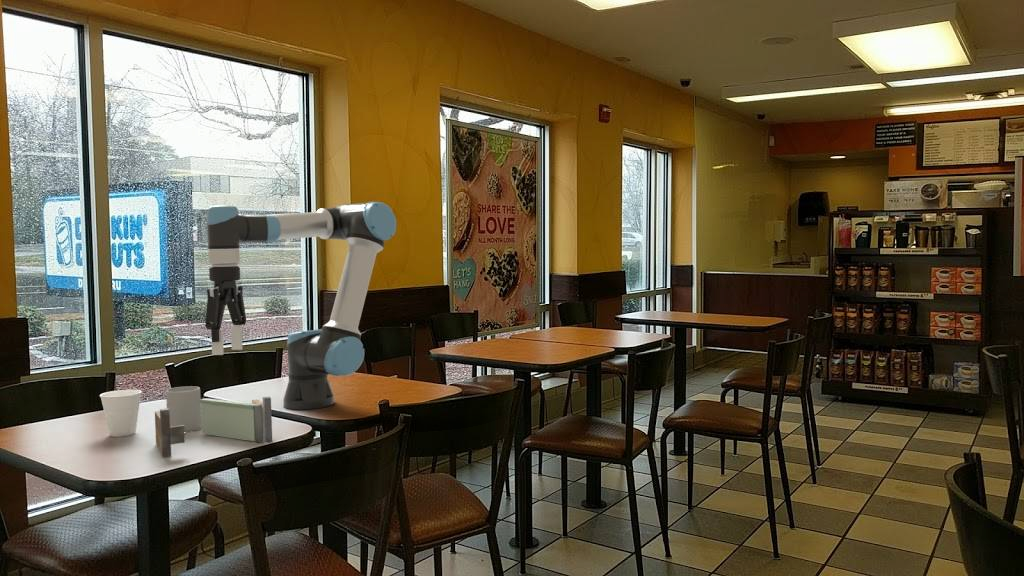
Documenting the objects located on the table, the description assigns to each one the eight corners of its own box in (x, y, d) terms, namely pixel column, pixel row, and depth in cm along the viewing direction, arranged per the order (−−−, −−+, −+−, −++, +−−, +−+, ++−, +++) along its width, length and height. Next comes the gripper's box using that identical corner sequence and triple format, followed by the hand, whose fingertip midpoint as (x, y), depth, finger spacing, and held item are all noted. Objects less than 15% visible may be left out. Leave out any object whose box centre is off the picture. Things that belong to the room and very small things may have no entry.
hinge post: (258, 430, 200) (257, 389, 200) (272, 441, 188) (270, 397, 188) (252, 431, 199) (251, 390, 199) (265, 442, 188) (264, 398, 187)
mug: (201, 431, 200) (199, 390, 200) (166, 434, 197) (164, 393, 197) (203, 421, 212) (201, 383, 211) (170, 424, 209) (168, 385, 208)
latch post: (175, 441, 189) (173, 398, 189) (185, 455, 177) (183, 408, 176) (155, 444, 187) (153, 400, 186) (163, 458, 174) (161, 411, 174)
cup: (101, 432, 200) (99, 391, 200) (143, 428, 205) (141, 388, 204) (100, 441, 192) (98, 398, 191) (144, 436, 196) (142, 394, 196)
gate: (264, 440, 188) (263, 404, 187) (259, 442, 186) (258, 406, 186) (207, 432, 198) (205, 398, 197) (201, 433, 196) (200, 399, 196)
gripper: (232, 264, 206) (235, 346, 208) (187, 267, 185) (190, 358, 186) (258, 264, 205) (260, 346, 206) (215, 266, 184) (219, 358, 185)
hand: (227, 352), depth 196 cm, fingers open, 9 cm apart
